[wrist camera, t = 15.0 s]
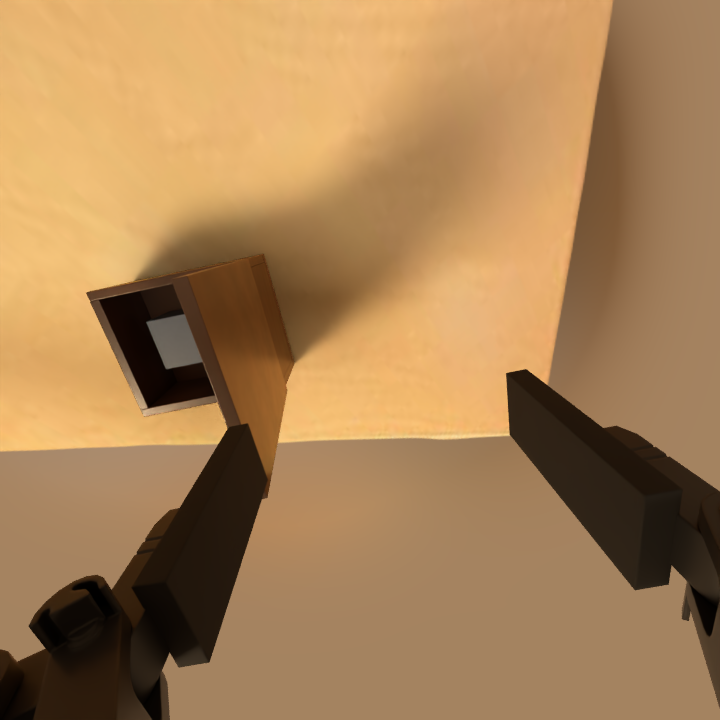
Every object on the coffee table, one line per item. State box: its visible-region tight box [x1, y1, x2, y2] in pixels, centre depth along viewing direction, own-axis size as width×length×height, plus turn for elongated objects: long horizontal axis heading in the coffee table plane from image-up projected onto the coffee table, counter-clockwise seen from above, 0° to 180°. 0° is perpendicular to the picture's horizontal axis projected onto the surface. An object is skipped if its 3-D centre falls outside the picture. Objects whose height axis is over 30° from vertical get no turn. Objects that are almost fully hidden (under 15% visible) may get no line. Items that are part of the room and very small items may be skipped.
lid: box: [172, 258, 287, 499], centre depth 27 cm, size 17×14×1 cm
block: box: [146, 309, 202, 369], centre depth 40 cm, size 6×6×5 cm
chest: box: [86, 254, 295, 417], centre depth 39 cm, size 16×14×8 cm
